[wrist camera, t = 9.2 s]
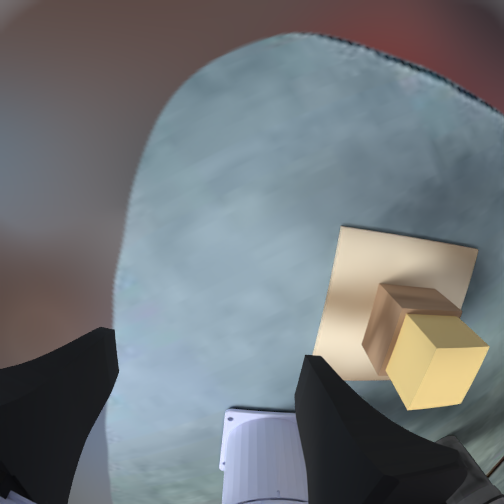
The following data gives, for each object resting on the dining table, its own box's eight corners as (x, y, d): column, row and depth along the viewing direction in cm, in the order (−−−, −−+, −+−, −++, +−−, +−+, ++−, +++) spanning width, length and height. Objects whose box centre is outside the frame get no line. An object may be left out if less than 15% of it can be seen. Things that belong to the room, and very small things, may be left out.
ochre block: (435, 368, 19) (460, 403, 15) (385, 370, 18) (407, 410, 15) (456, 316, 17) (489, 346, 14) (406, 313, 17) (436, 348, 13)
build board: (431, 375, 24) (432, 377, 24) (306, 376, 24) (307, 379, 23) (475, 248, 21) (478, 249, 20) (340, 225, 20) (342, 227, 20)
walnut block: (415, 345, 23) (437, 373, 19) (361, 344, 22) (378, 376, 19) (435, 288, 21) (462, 311, 17) (379, 283, 21) (402, 308, 17)
